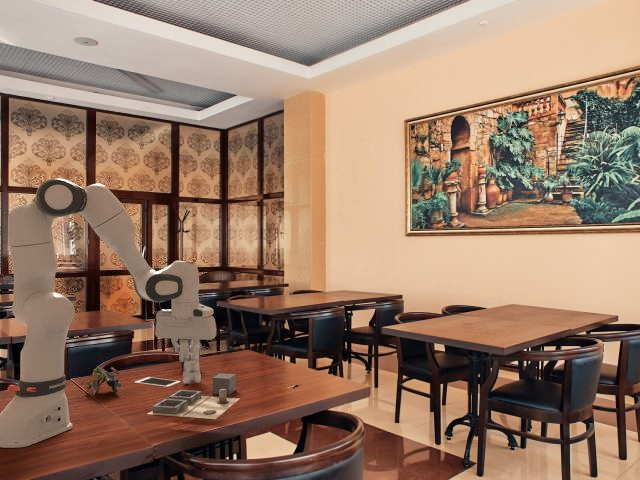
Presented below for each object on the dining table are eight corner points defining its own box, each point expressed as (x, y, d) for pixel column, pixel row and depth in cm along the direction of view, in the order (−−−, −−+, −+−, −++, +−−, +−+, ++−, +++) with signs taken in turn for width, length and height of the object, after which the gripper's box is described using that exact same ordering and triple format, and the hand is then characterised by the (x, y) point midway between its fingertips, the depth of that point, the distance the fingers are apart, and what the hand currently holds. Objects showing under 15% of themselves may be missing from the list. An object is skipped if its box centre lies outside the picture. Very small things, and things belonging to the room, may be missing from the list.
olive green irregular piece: (113, 407, 181) (130, 381, 179) (85, 409, 172) (103, 382, 170) (100, 384, 187) (117, 359, 185) (73, 386, 178) (89, 359, 176)
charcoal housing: (229, 399, 172) (229, 378, 172) (212, 398, 173) (212, 377, 173) (235, 394, 178) (235, 374, 178) (219, 393, 179) (219, 373, 179)
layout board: (215, 424, 148) (215, 405, 148) (147, 418, 153) (147, 400, 153) (240, 403, 168) (240, 386, 168) (178, 399, 172) (178, 382, 172)
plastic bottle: (196, 386, 187) (196, 332, 187) (179, 385, 188) (179, 331, 188) (203, 382, 193) (203, 329, 193) (187, 381, 195) (187, 329, 195)
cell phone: (148, 378, 200) (148, 376, 200) (181, 382, 194) (181, 381, 194) (133, 383, 193) (133, 382, 193) (167, 388, 187) (167, 386, 187)
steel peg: (188, 361, 164) (188, 340, 164) (177, 361, 165) (177, 339, 165) (194, 359, 168) (194, 337, 168) (183, 358, 169) (182, 337, 169)
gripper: (151, 310, 166) (151, 353, 166) (210, 312, 161) (210, 355, 161) (161, 308, 172) (161, 349, 172) (218, 309, 168) (218, 351, 168)
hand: (185, 352), depth 167 cm, fingers closed on steel peg, 4 cm apart
